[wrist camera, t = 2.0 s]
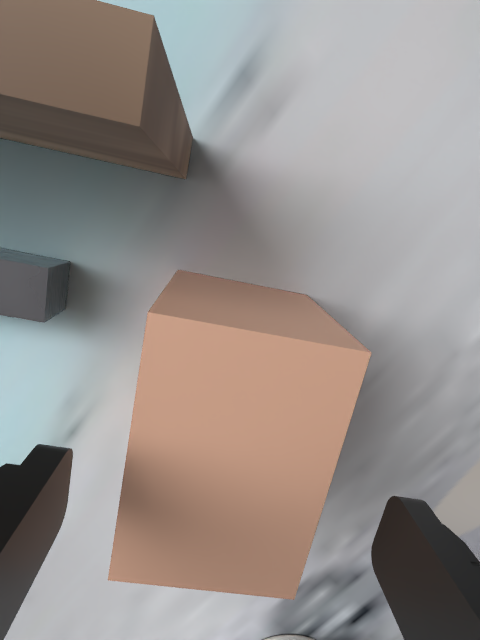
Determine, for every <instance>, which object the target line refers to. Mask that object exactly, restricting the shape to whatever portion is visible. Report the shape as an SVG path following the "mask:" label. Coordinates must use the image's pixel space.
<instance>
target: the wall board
mask: <svg viewBox="0 0 480 640" xmlns="http://www.w3.org/2000/svg"><path fill="white" fill-rule="evenodd" d="M0 138H3V139H7V140H12V141H16V142H21V143H25V144H30V145H34V146H39V147H43V148H48V149H52V150H57V151H61V152H66V153H70V154H75V155H79V156H84V157H88V158H93V159H97V160H102V161H106V162H111V163H115V164H120V165H124V166H129V167H133V168H137V169H142V170H146V171H151V172H155V173H160V174H164V175H169V176H173V177H178V178H182V179H186V177H187V171H188V165H189V159H190V152H191V146H192V140H193V136H192V133H191V130H190V127H189V124H188V121H187V118H186V115H185V111H184V108H183V105H182V102H181V99H180V96H179V93H178V90H177V86H176V83H175V80H174V77H173V74H172V71H171V68H170V65H169V62H168V58H167V55H166V52H165V49H164V46H163V43H162V40H161V37H160V33H159V30H158V27H157V24H156V21H155V18H154V16H153V15H149V14H145V13H142V12H138V11H134V10H130V9H127V8H123V7H119V6H115V5H112V4H108V3H104V2H101V1H97V0H0Z"/></svg>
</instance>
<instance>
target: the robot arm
mask: <svg viewBox="0 0 480 640" xmlns="http://www.w3.org/2000/svg"><path fill="white" fill-rule="evenodd" d="M72 458H73V451H72V449H70V448H63V447H56V446H49V445H42V444H38V445H37V446H35V448H34V449H33V450H32V451H31V452H30V454H29V455H28V456H27V457H26V459H25V460H24V461H23V462H22V464H21V465H14V464H7V463H6V464H5V465H3V466H1V467H0V640H4V638H5V636H6V634H7V632H8V630H9V628H10V626H11V624H12V622H13V620H14V618H15V616H16V614H17V612H18V610H19V609H20V607H21V605H22V603H23V601H24V599H25V597H26V595H27V593H28V591H29V589H30V587H31V585H32V583H33V581H34V579H35V577H36V575H37V573H38V571H39V569H40V568H41V566H42V564H43V562H44V560H45V558H46V556H47V554H48V552H49V550H50V548H51V546H52V544H53V542H54V540H55V538H56V536H57V534H58V532H59V530H60V528H61V525H62V522H63V519H64V516H65V512H66V508H67V502H68V494H69V485H70V476H71V467H72ZM371 556H372V565H373V569H374V572H375V574H376V577H377V579H378V581H379V583H380V586H381V588H382V590H383V592H384V595H385V597H386V599H387V601H388V604H389V606H390V608H391V610H392V613H393V615H394V617H395V619H396V622H397V624H398V626H399V628H400V631H401V633H402V635H403V637H404V640H480V562H479V561H478V559H477V558H476V557H475V556H474V554H473V553H472V552H471V550H470V549H469V548H468V546H467V545H466V544H465V542H463V541H462V540H461V539H460V538H459V537H458V536H457V535H455V534H454V533H453V532H452V531H451V530H450V529H449V528H447V527H446V526H445V525H443V524H441V522H440V521H439V519H438V518H437V517H436V515H435V514H434V512H433V511H432V510H431V508H430V507H429V506H428V504H427V503H426V502H424V501H423V500H418V499H411V498H404V497H397V496H392V497H391V498H390V499H389V500H388V502H387V504H386V507H385V510H384V513H383V516H382V518H381V521H380V524H379V527H378V530H377V532H376V535H375V538H374V541H373V544H372V551H371Z"/></svg>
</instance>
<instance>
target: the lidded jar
mask: <svg viewBox="0 0 480 640" xmlns="http://www.w3.org/2000/svg"><path fill="white" fill-rule="evenodd" d="M263 640H315V639H313V638H310V637H307V636H302V635H294V634H285V635H277V636H272V637H269V638H266V639H263Z"/></svg>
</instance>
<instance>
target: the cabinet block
mask: <svg viewBox="0 0 480 640" xmlns="http://www.w3.org/2000/svg"><path fill="white" fill-rule="evenodd" d="M370 356H371V352H370V351H369V350H368V349H367V348H366V347H365V346H363V345H362V344H361V343H360V342H359V341H358V340H357V339H356V338H355V337H353V336H352V335H351V334H350V333H349V332H348V331H347V330H346V329H344V328H343V327H342V326H341V325H340V324H339V323H338V322H337V321H335V320H334V319H333V318H332V317H331V316H330V315H329V314H328V313H326V312H325V311H324V310H323V309H322V308H321V307H320V306H319V305H318V304H316V303H315V302H314V301H313V300H312V299H311V298H310V297H309V296H307V295H304V294H299V293H294V292H289V291H284V290H279V289H274V288H268V287H263V286H258V285H253V284H248V283H243V282H238V281H233V280H228V279H223V278H217V277H212V276H207V275H202V274H197V273H192V272H187V271H182V270H177V272H176V273H175V275H174V276H173V277H172V279H171V280H170V282H169V283H168V284H167V286H166V287H165V289H164V290H163V291H162V293H161V294H160V296H159V297H158V298H157V300H156V301H155V303H154V304H153V305H152V307H151V308H150V310H149V311H148V314H147V321H146V328H145V334H144V341H143V348H142V354H141V361H140V368H139V375H138V381H137V388H136V395H135V401H134V408H133V415H132V422H131V428H130V435H129V442H128V448H127V455H126V462H125V469H124V475H123V482H122V489H121V495H120V502H119V509H118V516H117V522H116V529H115V536H114V542H113V549H112V556H111V563H110V569H109V576H108V580H110V581H120V582H130V583H139V584H149V585H158V586H168V587H178V588H187V589H197V590H206V591H216V592H226V593H235V594H245V595H255V596H264V597H274V598H283V599H293V600H294V599H295V596H296V592H297V589H298V586H299V583H300V580H301V576H302V573H303V570H304V567H305V564H306V560H307V557H308V554H309V551H310V548H311V544H312V541H313V538H314V535H315V532H316V529H317V525H318V522H319V519H320V516H321V513H322V509H323V506H324V503H325V500H326V497H327V493H328V490H329V487H330V484H331V481H332V477H333V474H334V471H335V468H336V465H337V462H338V458H339V455H340V452H341V449H342V446H343V442H344V439H345V436H346V433H347V430H348V426H349V423H350V420H351V417H352V414H353V410H354V407H355V404H356V401H357V398H358V394H359V391H360V388H361V385H362V382H363V379H364V375H365V372H366V369H367V366H368V363H369V359H370Z"/></svg>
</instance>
